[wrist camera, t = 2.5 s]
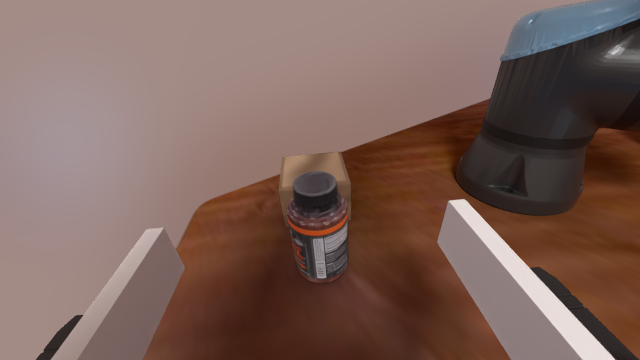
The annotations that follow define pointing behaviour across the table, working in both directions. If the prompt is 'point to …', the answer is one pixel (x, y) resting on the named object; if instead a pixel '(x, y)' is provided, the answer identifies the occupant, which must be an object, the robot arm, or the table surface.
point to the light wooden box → (313, 162)
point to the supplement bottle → (318, 227)
